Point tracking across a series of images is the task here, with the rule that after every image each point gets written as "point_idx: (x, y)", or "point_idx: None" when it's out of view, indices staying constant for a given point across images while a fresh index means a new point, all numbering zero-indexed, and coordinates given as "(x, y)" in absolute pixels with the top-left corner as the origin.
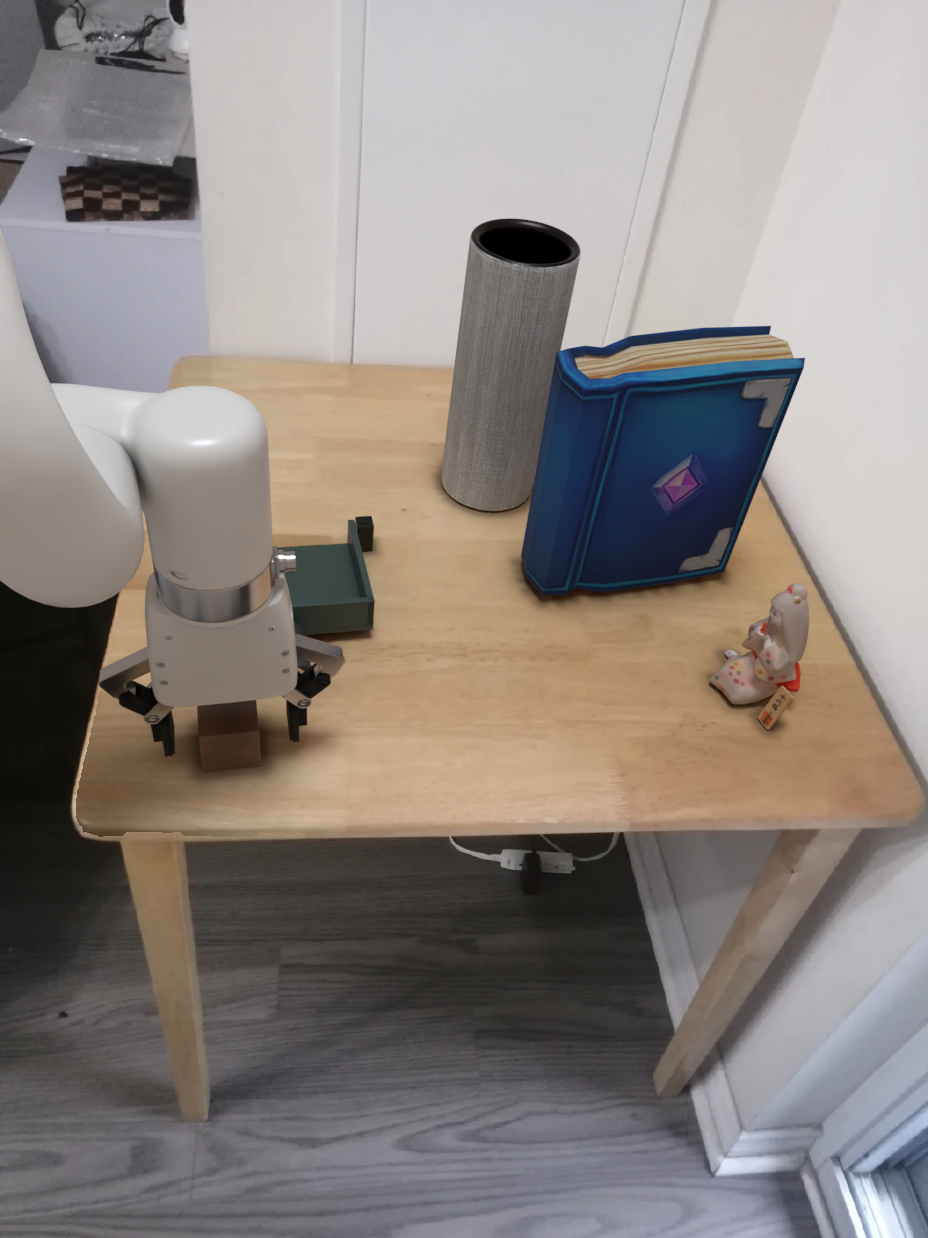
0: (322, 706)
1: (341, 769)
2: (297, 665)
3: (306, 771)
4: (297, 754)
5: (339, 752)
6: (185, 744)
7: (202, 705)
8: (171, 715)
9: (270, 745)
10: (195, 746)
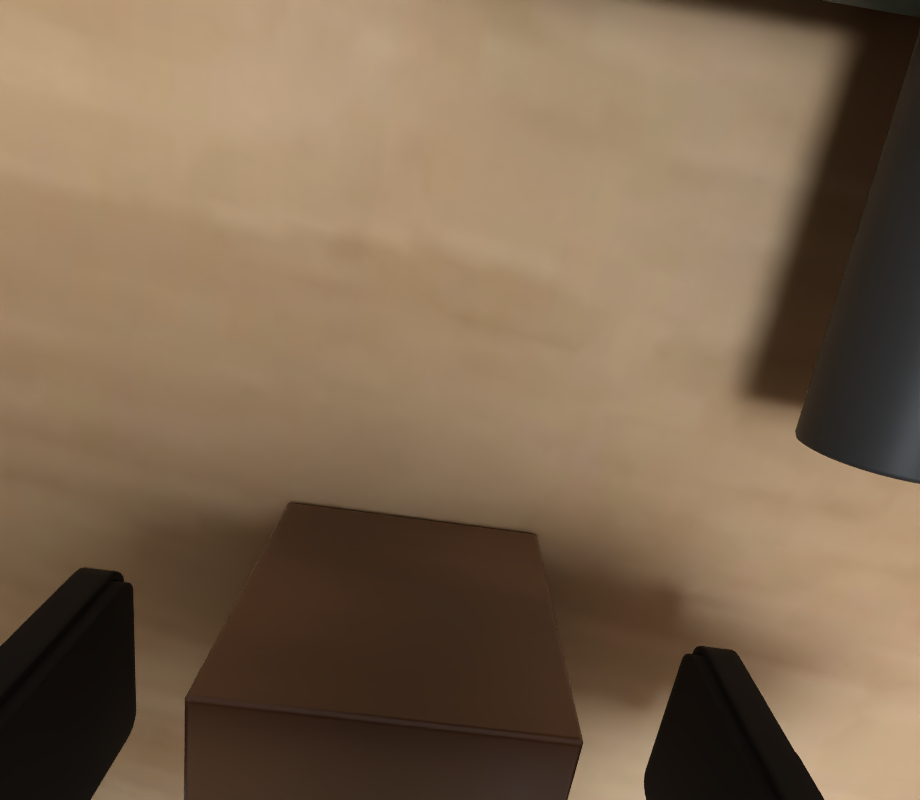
0: (849, 521)
1: None
2: (915, 479)
3: None
4: (645, 708)
5: (800, 736)
6: (215, 560)
7: (217, 794)
8: (48, 724)
9: None
10: None
